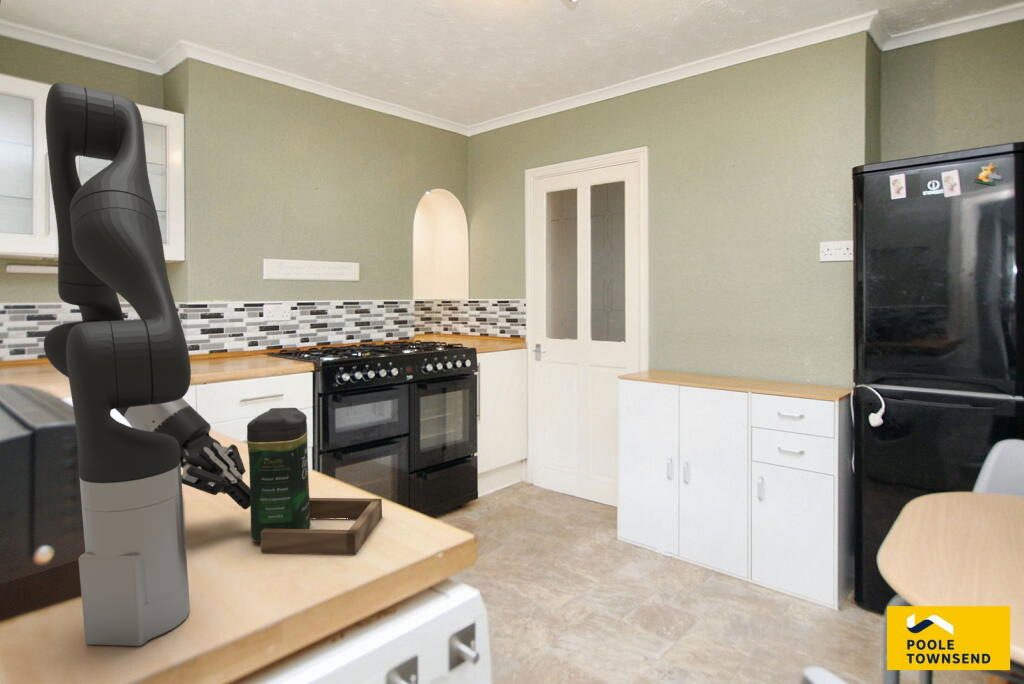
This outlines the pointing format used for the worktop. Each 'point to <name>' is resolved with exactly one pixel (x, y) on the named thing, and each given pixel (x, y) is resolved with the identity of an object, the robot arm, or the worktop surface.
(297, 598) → the worktop surface
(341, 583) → the worktop surface
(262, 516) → the coffee jar
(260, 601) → the worktop surface
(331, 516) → the wooden u-shaped frame
